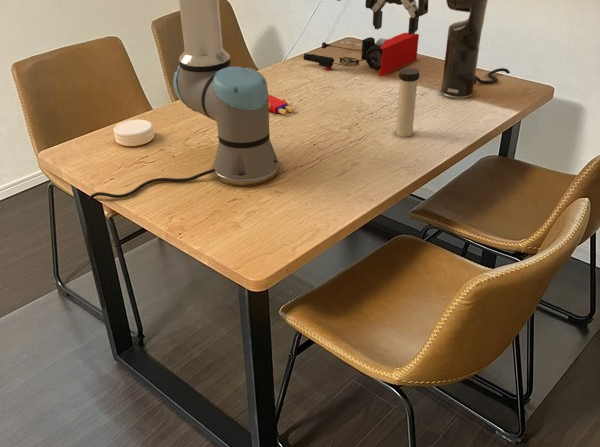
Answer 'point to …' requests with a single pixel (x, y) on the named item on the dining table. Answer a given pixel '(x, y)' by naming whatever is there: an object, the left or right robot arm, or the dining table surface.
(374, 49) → the electric hoist
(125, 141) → the white short cylinder
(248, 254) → the dining table surface
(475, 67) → the right robot arm
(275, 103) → the toy figure
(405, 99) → the beige long cylinder
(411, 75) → the lid
